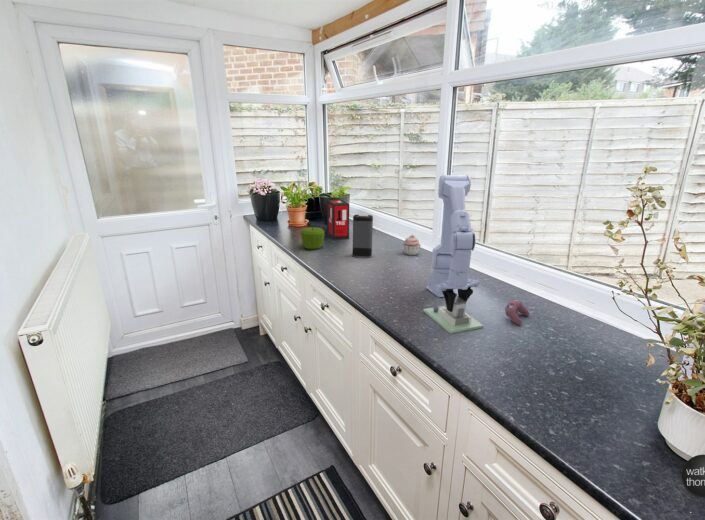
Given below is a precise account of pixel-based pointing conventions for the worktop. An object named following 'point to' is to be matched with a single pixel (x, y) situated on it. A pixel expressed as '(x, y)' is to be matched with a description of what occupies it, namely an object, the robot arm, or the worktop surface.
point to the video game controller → (515, 311)
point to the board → (452, 320)
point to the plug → (457, 308)
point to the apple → (312, 237)
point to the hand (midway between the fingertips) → (454, 309)
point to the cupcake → (411, 245)
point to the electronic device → (362, 236)
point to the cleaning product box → (338, 219)
